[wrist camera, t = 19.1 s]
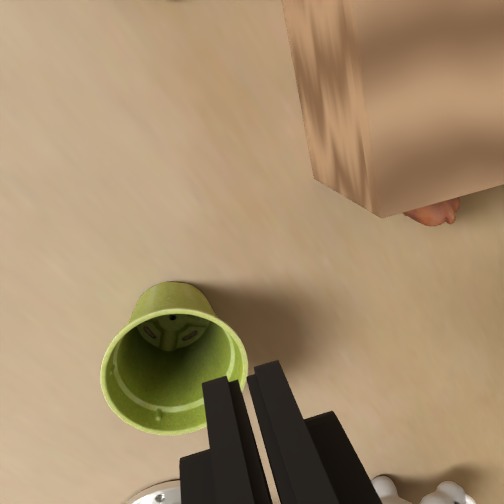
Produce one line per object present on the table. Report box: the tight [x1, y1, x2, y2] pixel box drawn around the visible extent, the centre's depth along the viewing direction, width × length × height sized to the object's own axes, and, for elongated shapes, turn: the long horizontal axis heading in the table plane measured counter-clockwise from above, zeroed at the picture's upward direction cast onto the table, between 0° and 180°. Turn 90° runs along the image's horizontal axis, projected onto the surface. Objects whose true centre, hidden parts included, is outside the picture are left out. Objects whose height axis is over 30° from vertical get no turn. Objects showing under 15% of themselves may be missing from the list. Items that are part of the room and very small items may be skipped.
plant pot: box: [100, 282, 248, 435], centre depth 35 cm, size 9×9×9 cm
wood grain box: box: [282, 0, 504, 218], centre depth 29 cm, size 15×12×12 cm
